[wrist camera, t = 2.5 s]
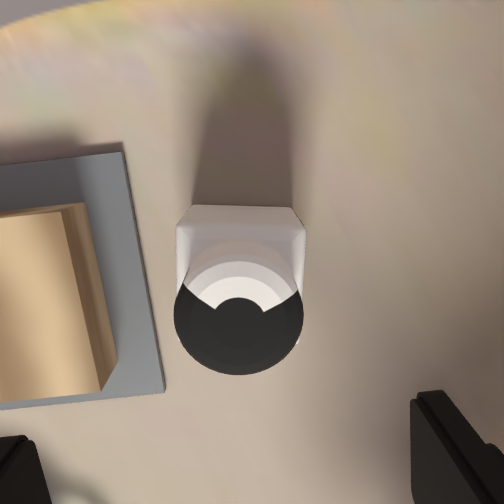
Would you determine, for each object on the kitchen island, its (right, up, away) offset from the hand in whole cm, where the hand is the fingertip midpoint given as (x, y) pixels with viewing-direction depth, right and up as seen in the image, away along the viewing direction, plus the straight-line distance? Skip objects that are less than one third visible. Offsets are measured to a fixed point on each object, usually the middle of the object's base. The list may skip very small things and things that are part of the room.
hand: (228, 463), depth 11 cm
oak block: (-16, +2, +20) cm, 26 cm away
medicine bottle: (0, +5, +20) cm, 21 cm away
